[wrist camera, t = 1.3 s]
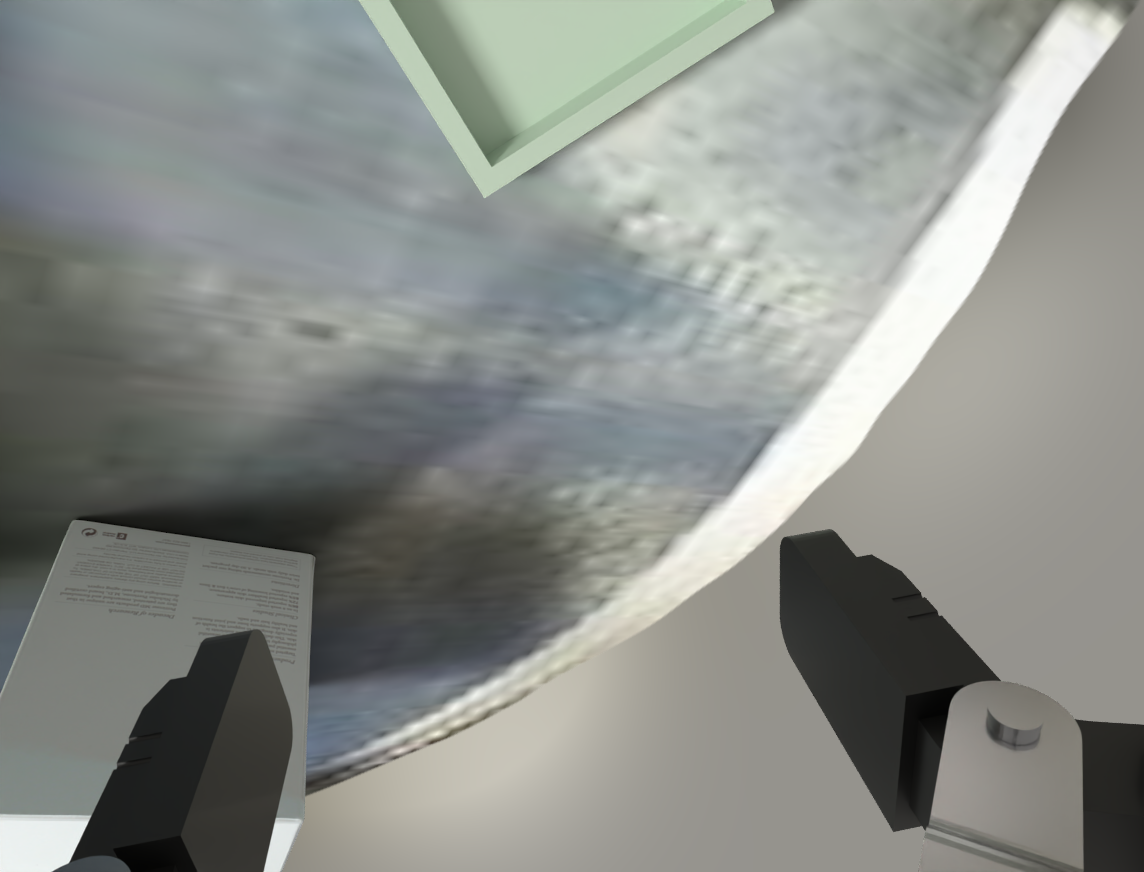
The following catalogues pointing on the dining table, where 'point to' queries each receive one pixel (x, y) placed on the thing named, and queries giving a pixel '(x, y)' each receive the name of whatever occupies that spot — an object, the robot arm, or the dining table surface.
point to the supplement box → (135, 671)
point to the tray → (544, 66)
